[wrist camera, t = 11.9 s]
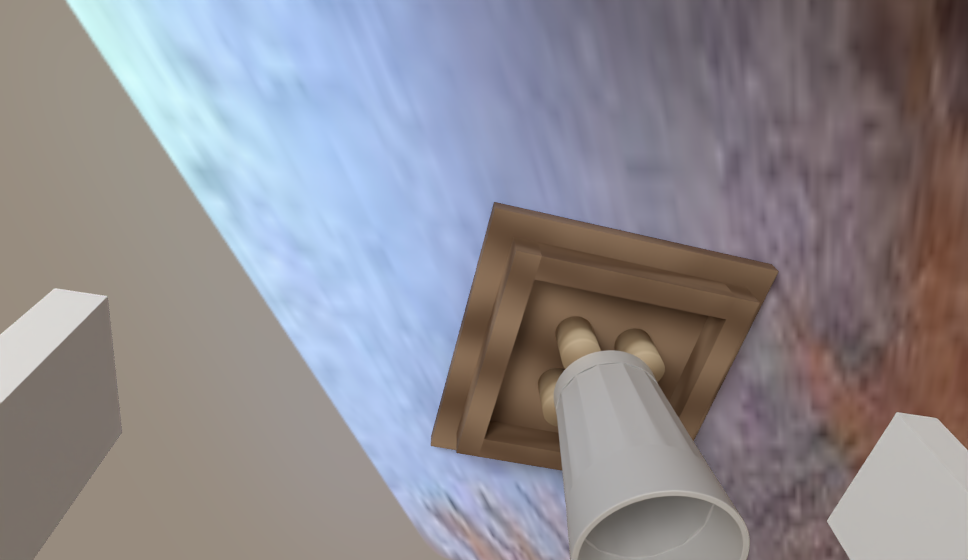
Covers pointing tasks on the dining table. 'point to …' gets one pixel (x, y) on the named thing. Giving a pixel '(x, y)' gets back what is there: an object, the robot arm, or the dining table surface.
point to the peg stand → (586, 327)
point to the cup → (636, 470)
